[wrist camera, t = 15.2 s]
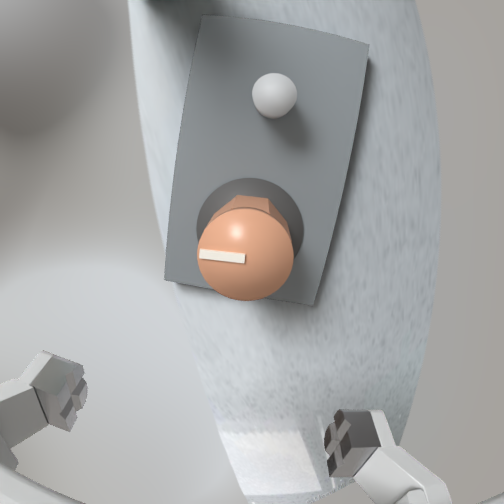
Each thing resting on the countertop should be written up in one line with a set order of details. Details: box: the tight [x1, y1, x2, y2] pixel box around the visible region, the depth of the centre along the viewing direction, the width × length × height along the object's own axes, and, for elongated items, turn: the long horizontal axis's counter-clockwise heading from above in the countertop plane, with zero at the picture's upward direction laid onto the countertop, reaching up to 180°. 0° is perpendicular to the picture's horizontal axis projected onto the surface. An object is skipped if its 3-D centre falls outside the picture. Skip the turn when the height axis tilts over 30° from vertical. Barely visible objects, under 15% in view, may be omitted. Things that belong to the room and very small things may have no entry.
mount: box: [164, 15, 369, 306], centre depth 24 cm, size 24×14×6 cm, turn 170°
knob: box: [197, 195, 294, 301], centre depth 24 cm, size 6×6×6 cm
